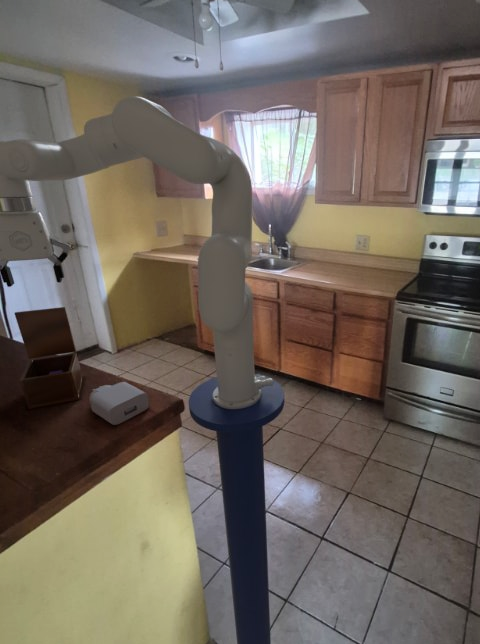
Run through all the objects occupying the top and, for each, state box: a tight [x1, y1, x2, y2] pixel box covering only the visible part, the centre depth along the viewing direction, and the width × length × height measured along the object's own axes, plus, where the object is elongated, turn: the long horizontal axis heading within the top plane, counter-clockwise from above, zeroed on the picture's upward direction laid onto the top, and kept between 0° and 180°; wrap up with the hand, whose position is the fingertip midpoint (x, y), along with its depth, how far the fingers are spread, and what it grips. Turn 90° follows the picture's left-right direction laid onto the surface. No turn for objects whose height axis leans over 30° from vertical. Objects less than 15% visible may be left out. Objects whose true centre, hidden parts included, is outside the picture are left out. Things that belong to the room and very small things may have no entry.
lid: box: [14, 306, 77, 360], centre depth 96 cm, size 12×11×5 cm
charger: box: [89, 381, 150, 426], centre depth 89 cm, size 5×9×15 cm
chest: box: [19, 352, 84, 410], centre depth 94 cm, size 12×11×8 cm
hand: (36, 283), depth 86 cm, fingers open, 9 cm apart
